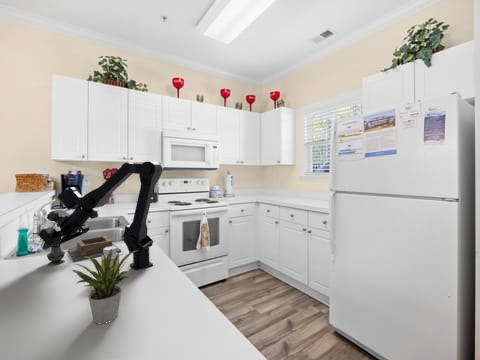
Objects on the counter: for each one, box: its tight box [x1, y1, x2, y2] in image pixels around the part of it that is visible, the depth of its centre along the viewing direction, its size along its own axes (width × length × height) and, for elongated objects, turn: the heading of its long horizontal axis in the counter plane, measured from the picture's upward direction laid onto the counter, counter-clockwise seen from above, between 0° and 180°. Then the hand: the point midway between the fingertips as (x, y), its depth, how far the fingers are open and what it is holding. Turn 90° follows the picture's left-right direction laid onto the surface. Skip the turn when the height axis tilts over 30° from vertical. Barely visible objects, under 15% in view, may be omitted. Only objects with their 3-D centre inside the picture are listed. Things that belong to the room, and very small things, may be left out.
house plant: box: [72, 249, 138, 324], centre depth 60 cm, size 14×14×16 cm
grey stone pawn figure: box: [46, 240, 66, 267], centre depth 94 cm, size 6×6×12 cm
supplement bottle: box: [100, 245, 120, 278], centre depth 82 cm, size 5×5×10 cm
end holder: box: [67, 235, 122, 263], centre depth 107 cm, size 18×17×5 cm
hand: (52, 245), depth 94 cm, fingers open, 7 cm apart
